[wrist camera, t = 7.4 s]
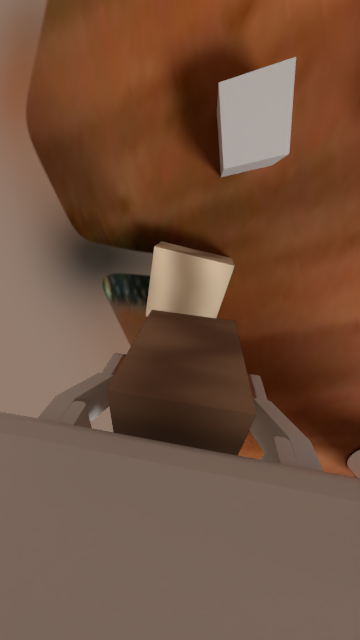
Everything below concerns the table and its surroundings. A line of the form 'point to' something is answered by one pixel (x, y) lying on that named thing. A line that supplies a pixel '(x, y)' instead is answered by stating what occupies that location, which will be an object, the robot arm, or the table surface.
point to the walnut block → (184, 384)
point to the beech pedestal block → (187, 280)
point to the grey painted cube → (255, 118)
